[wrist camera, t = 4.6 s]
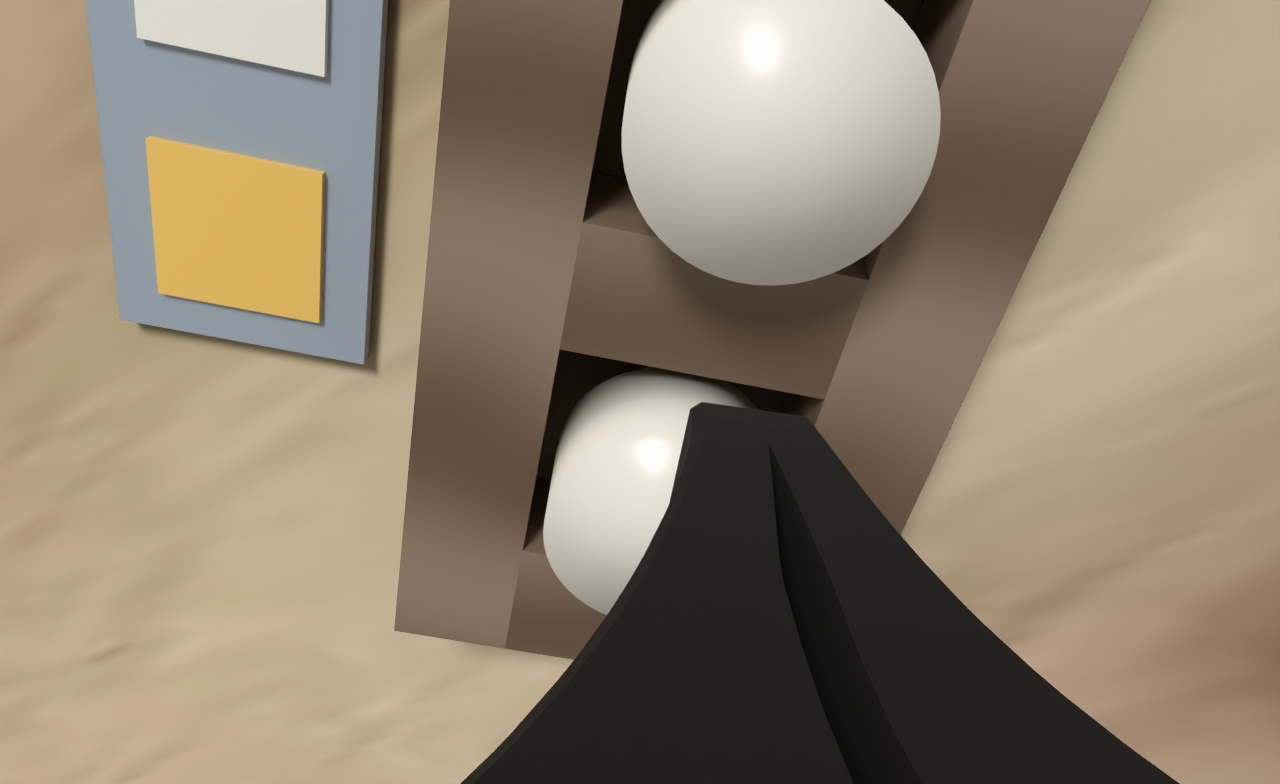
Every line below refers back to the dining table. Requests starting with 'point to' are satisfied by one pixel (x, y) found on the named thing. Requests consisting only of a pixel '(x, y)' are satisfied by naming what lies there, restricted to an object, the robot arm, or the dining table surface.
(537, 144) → the button board
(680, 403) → the button
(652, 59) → the button
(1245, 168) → the dining table surface
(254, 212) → the pattern card
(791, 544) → the robot arm
